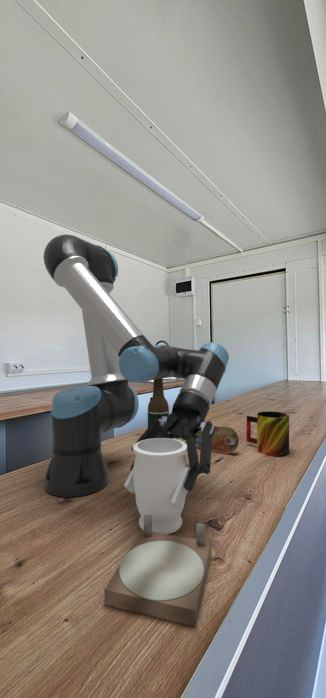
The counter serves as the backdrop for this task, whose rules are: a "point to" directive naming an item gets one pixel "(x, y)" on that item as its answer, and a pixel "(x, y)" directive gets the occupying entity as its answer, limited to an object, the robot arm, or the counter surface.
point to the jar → (158, 481)
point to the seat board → (162, 576)
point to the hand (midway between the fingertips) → (150, 497)
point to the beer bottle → (157, 402)
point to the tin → (221, 440)
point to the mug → (270, 433)
